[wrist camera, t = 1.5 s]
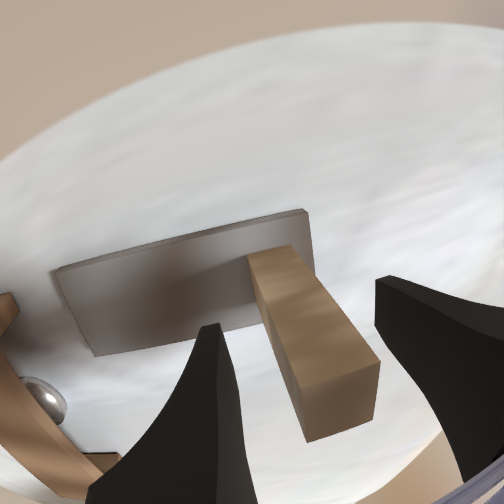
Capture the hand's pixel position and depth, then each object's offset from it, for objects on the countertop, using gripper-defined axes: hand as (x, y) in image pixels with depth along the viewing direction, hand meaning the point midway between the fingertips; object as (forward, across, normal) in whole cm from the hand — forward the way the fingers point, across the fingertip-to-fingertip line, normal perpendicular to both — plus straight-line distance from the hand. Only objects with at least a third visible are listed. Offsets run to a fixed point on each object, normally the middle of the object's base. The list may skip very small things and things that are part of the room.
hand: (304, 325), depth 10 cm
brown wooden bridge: (+5, +17, +6) cm, 19 cm away
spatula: (+5, +4, 0) cm, 7 cm away
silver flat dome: (+5, +17, +6) cm, 19 cm away
